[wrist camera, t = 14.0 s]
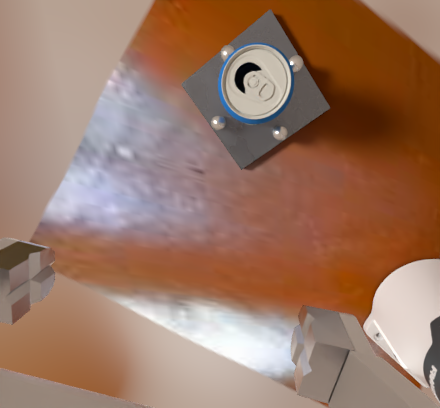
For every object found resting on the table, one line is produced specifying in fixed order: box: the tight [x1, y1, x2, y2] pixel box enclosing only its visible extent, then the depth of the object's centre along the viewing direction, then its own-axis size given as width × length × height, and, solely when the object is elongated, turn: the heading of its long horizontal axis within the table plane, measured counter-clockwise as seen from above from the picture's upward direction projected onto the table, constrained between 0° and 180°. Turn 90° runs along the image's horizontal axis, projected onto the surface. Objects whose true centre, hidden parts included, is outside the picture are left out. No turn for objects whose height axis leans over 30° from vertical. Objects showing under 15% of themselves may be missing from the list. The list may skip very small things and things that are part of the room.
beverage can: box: [218, 42, 294, 124], centre depth 28 cm, size 6×6×12 cm
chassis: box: [181, 9, 330, 170], centre depth 34 cm, size 13×13×4 cm
